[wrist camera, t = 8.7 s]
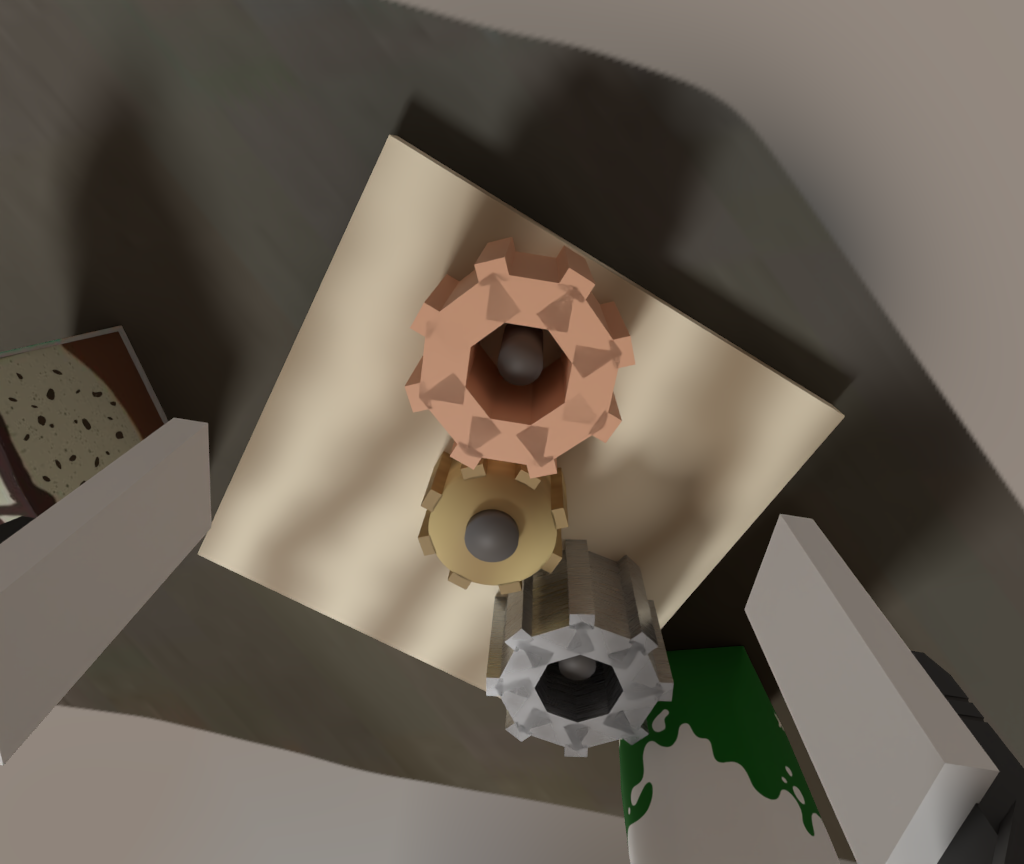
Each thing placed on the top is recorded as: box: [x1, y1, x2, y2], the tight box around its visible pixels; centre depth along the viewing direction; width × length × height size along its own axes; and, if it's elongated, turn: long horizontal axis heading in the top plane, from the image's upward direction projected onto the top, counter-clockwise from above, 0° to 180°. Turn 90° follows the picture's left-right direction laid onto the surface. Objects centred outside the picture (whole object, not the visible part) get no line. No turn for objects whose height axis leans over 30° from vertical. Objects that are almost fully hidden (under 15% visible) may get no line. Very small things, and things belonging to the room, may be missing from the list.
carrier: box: [198, 135, 845, 698], centre depth 32 cm, size 24×24×6 cm
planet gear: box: [405, 237, 635, 479], centre depth 27 cm, size 8×8×6 cm
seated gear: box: [486, 539, 674, 757], centre depth 33 cm, size 8×8×6 cm
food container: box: [0, 325, 169, 525], centre depth 30 cm, size 12×6×10 cm, turn 14°
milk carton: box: [619, 646, 840, 864], centre depth 31 cm, size 9×9×20 cm
